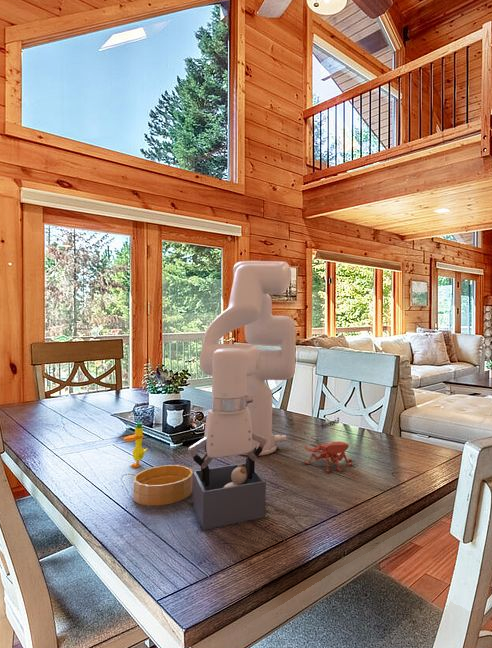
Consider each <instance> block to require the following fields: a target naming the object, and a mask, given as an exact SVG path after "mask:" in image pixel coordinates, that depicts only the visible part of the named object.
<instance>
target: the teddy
mask: <svg viewBox="0 0 492 648" xmlns="http://www.w3.org/2000/svg"><path fill="white" fill-rule="evenodd" d="M239 464H240V465H238V466H237V468H236V469H234V470H233V472H232V474H231V479H232V481H233V482H231V483H228V484H226V485H225V486H224V487H223V488H225V487H231V486H237V485H240V484H242V483H244V482H245V481H246V479H247V471H246V468H245V467H243V465H241V464H242V463H239Z"/></svg>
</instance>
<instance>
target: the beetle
mask: <svg viewBox="0 0 492 648" xmlns="http://www.w3.org/2000/svg"><path fill="white" fill-rule="evenodd" d="M339 423H340V417H336V419H335V420H332V421H330V422H325V423H323V424H322V423H321V424H320V427H321V430H324V429H327V428H329V427H332V426H334V425H337V424H339ZM309 446H312V447H313V448H310V447H308V446H306V445H303V448H304V449H305V451H307V452H312V453H311V456H310V459H309V461H308V462H307V460H305V461H304V465H310V463H311V461H312V460H313V458H314V459H315V461H320V460H321V459H324V458H325V464H326V469H325V473H330V469H329V465H330V461H331V462H332V464H336V468H337V471H339V472H343V468H340V463H339V461H340V462H341V461H342V460H343V459H344V461H345V463H346V465H347V466H351V467H353V465H354V464H353V462H352V461H353V460H352V458H351V457H349V458H347V455H346V451H347V450H348V449H349V448H350V445H349V443H346V442H345V441H332V442H330V443H322V444H319V445H316V444H312V443H309ZM316 453H318V454H319V455H318V456H317V454H316ZM350 462H351V463H350Z"/></svg>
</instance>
